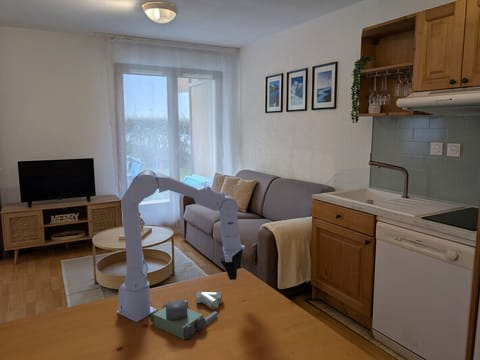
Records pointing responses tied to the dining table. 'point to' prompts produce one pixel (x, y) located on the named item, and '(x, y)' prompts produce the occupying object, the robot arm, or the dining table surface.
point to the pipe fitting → (209, 299)
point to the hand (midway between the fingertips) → (235, 273)
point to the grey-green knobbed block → (180, 319)
